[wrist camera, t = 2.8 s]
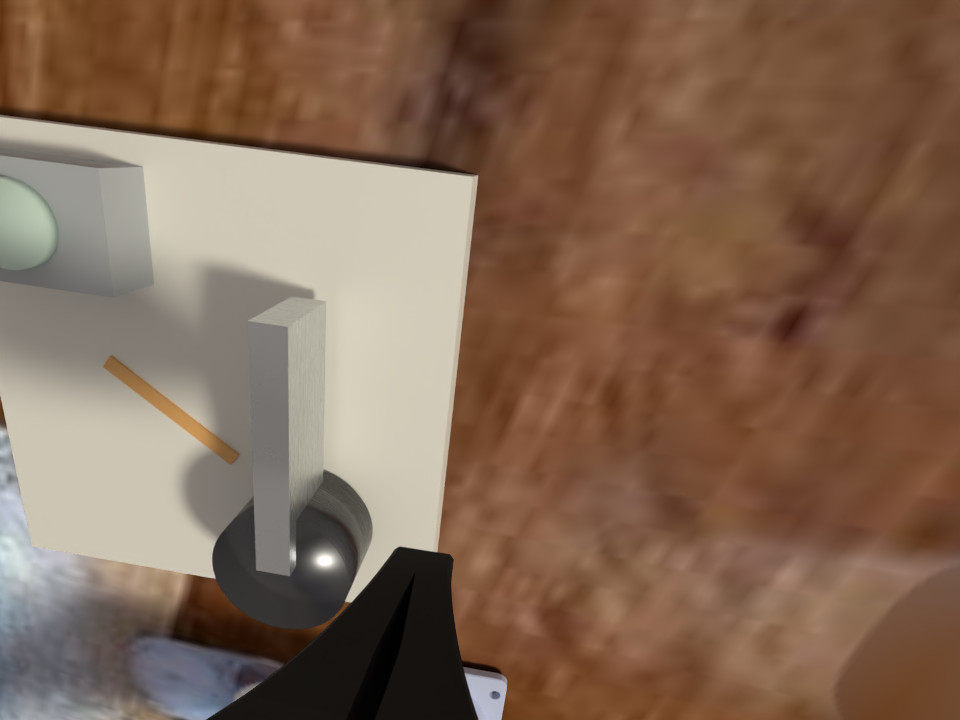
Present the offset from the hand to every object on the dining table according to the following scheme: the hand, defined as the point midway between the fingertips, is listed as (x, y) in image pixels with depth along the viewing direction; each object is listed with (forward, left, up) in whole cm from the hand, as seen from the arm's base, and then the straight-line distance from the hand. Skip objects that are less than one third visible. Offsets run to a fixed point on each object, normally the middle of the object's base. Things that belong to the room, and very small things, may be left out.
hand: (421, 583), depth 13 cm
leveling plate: (0, +10, -9) cm, 14 cm away
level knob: (-2, +6, -8) cm, 10 cm away
